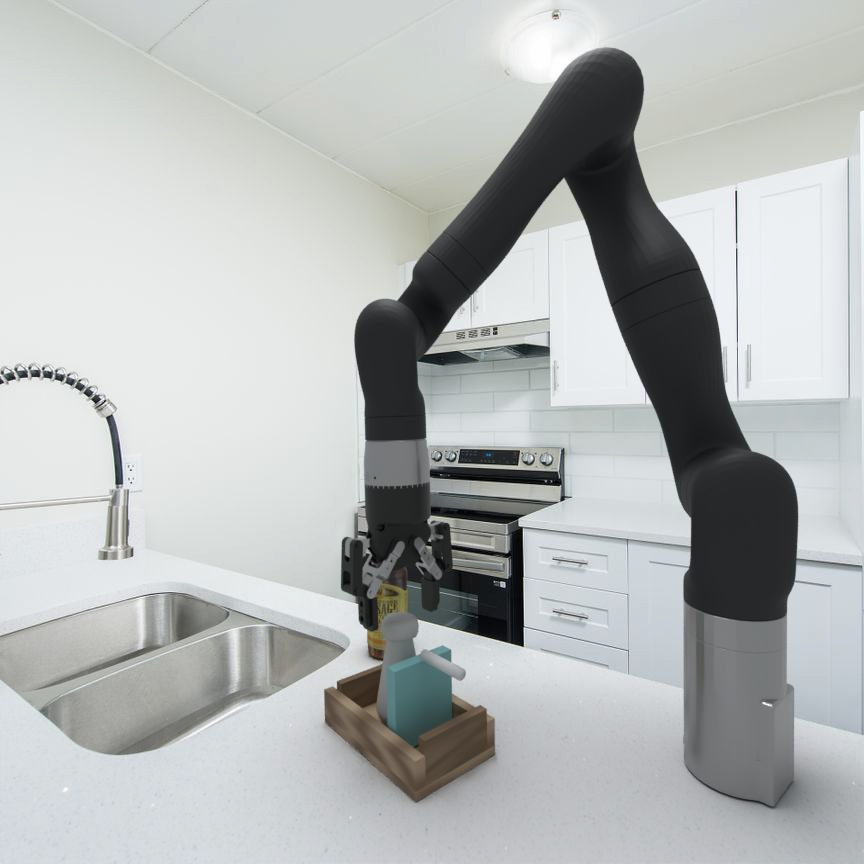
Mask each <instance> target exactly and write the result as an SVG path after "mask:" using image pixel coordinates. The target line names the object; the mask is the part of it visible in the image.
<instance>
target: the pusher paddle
mask: <svg viewBox="0 0 864 864" xmlns="http://www.w3.org/2000/svg"><path fill="white" fill-rule="evenodd" d="M386 672H387V725H388V728H389V729H390V730H391V731H393V732H394V733H395V734H397V735H398V736H399V737H400V738H402V739H403V740H404V741H406V742H407V743H408V744H410V745H411V746H412V747H415V746H417V745H419V740H418V736H420V735H422V734H424V733H426V732H428V731H430V730H432V729H434V728H436V727H438V726H440V725H442V724H444V723H446V722H448V721H450V720H452V694H453V683H452V682H453V680H452V678H454V679H455V680H457V681H458V682H461V681H463V680H464V679H465V677H466V674H467V672H466V669H465V668H464V667H461V666H459V665H458V664H455V663H454V662H452V649H451V648H449V647H447V646H446V645H439V646H437V647H435V648H432V649H430V650H428V649H422V650H421V652H420V653H419V654H416V656H414V657H411V658H408V659H406V660H403V661H401V662H398V663H395V664H393V665H390V666H388V667H386Z"/></svg>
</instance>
